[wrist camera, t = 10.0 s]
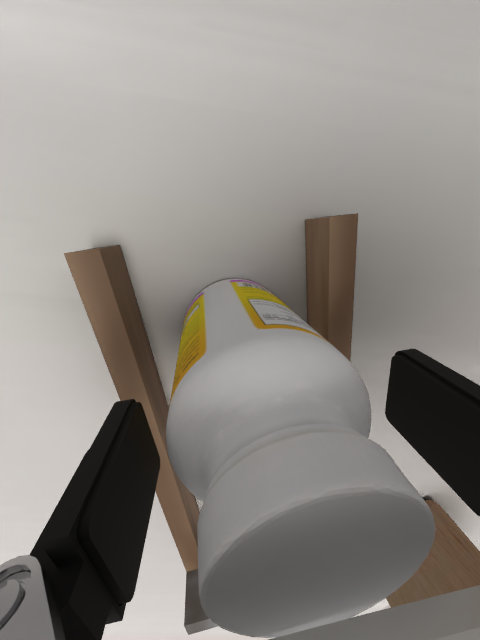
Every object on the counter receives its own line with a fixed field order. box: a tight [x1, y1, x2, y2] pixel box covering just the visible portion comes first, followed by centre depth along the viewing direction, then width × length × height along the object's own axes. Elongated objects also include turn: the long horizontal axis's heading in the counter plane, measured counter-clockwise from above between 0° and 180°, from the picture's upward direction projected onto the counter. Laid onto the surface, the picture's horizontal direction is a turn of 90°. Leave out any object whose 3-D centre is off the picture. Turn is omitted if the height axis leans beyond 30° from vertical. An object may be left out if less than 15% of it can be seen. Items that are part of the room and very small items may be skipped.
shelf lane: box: [64, 213, 358, 635], centre depth 16 cm, size 14×28×6 cm, turn 7°
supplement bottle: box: [166, 279, 435, 638], centre depth 10 cm, size 7×7×13 cm
